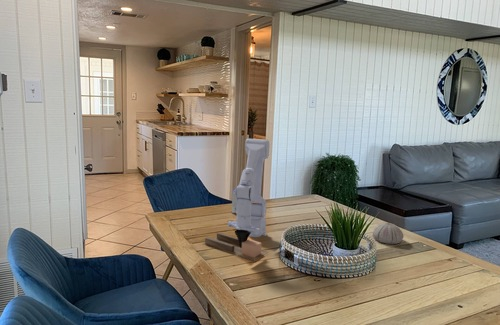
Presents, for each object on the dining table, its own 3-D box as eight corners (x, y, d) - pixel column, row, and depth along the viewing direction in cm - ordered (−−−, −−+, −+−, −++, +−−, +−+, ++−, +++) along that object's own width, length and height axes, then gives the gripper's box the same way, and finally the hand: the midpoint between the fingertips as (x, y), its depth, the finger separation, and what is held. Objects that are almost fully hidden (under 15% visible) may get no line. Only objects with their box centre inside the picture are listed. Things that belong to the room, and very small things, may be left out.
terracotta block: (248, 249, 157) (249, 239, 157) (261, 253, 154) (261, 242, 153) (241, 253, 153) (241, 242, 153) (253, 257, 150) (254, 246, 149)
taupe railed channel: (220, 237, 172) (220, 230, 171) (270, 253, 157) (270, 245, 156) (199, 247, 161) (199, 239, 160) (251, 264, 146) (251, 255, 145)
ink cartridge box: (251, 212, 211) (252, 186, 209) (249, 215, 206) (250, 188, 203) (233, 210, 213) (234, 184, 210) (231, 213, 208) (232, 186, 205)
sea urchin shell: (392, 248, 168) (394, 230, 166) (365, 238, 178) (367, 222, 176) (408, 241, 176) (410, 225, 174) (381, 233, 186) (383, 217, 185)
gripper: (223, 213, 155) (222, 245, 157) (253, 221, 147) (251, 254, 149) (233, 209, 160) (232, 240, 163) (263, 216, 152) (261, 249, 155)
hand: (242, 247), depth 156 cm, fingers closed
